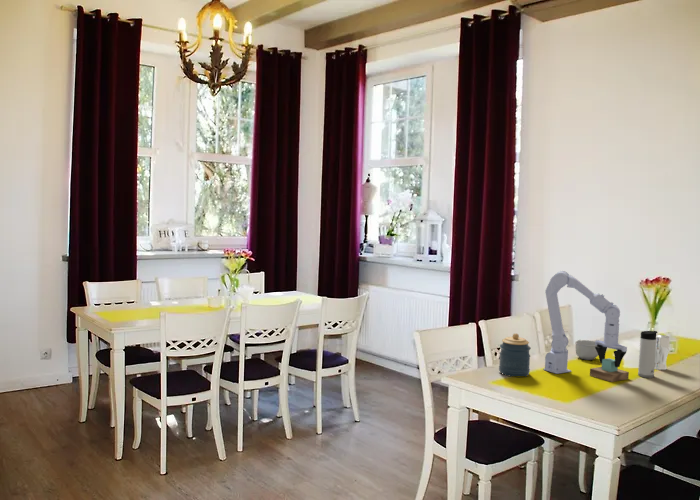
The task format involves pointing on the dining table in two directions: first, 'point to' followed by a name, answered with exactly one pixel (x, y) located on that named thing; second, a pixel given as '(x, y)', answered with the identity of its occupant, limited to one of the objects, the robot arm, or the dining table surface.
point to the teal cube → (609, 365)
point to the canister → (514, 356)
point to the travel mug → (647, 354)
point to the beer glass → (661, 352)
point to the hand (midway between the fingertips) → (609, 364)
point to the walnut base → (609, 374)
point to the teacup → (586, 349)
